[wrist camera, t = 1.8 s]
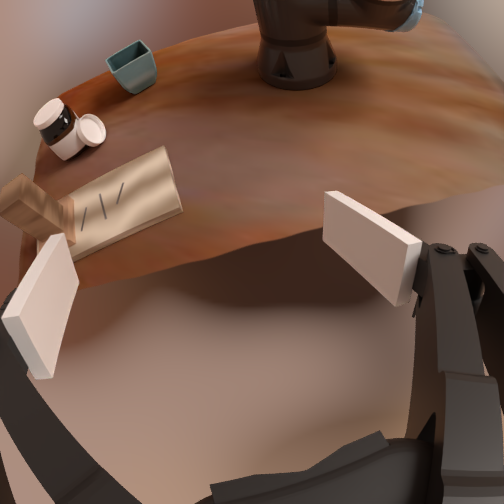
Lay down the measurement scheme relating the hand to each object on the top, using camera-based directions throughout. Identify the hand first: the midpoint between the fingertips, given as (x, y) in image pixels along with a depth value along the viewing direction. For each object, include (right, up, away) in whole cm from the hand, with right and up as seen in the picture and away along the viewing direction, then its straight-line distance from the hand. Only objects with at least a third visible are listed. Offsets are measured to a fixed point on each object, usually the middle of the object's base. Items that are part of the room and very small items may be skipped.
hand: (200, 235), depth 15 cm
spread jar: (-32, +21, +42) cm, 57 cm away
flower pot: (-21, +36, +46) cm, 62 cm away
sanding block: (-30, +3, +33) cm, 45 cm away
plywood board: (-23, +5, +34) cm, 41 cm away
